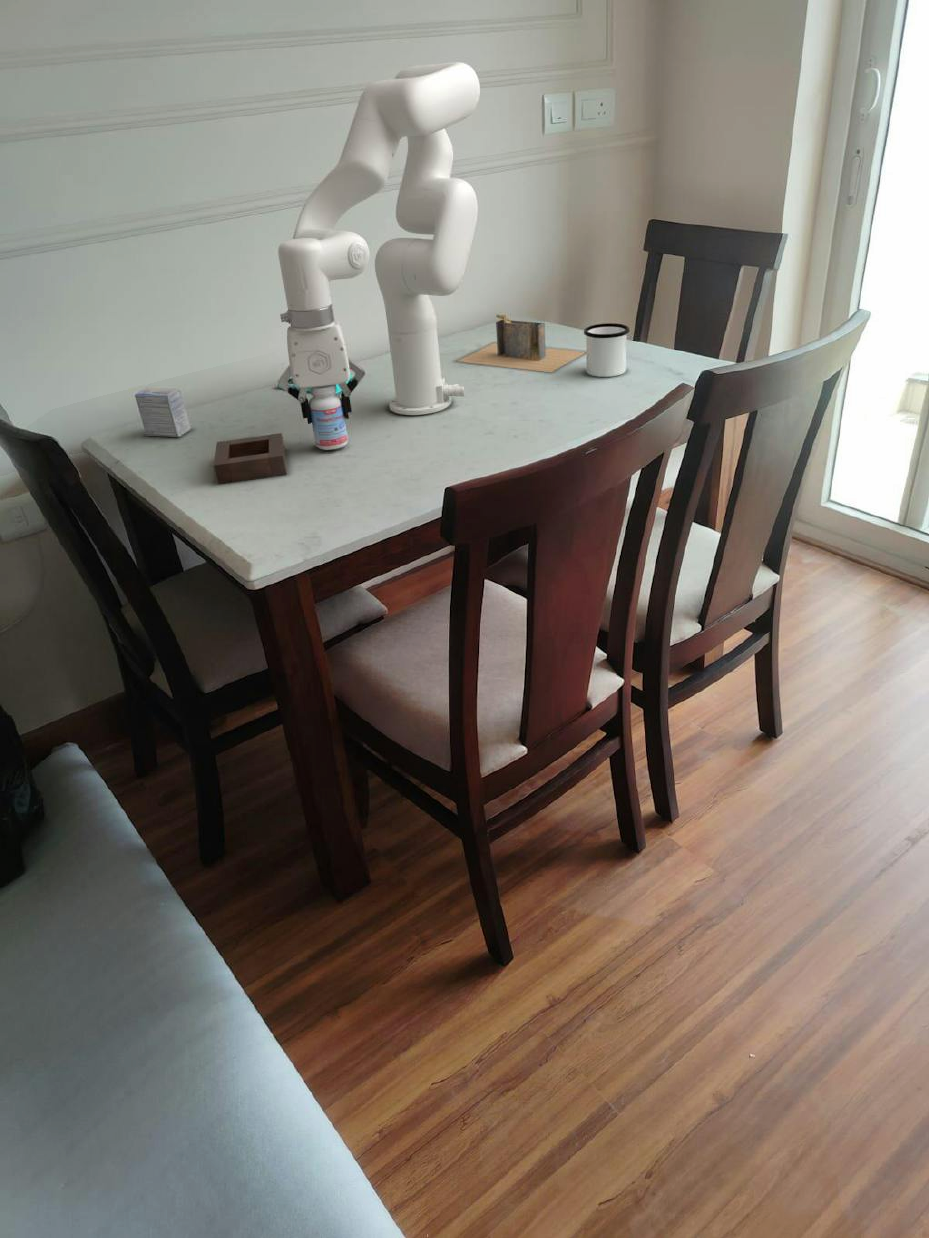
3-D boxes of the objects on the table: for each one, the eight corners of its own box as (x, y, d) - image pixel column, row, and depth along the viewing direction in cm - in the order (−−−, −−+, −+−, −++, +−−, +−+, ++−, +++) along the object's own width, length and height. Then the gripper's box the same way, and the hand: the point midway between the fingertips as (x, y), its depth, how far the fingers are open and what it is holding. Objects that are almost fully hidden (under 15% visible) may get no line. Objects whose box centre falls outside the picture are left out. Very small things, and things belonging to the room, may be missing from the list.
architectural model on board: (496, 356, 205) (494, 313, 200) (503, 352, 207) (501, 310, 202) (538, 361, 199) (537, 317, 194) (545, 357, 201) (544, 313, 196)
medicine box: (191, 430, 177) (181, 387, 173) (178, 438, 174) (167, 395, 169) (158, 428, 180) (147, 386, 175) (145, 436, 176) (133, 394, 172)
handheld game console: (333, 395, 190) (332, 388, 189) (276, 388, 197) (275, 382, 196) (360, 381, 197) (360, 375, 196) (304, 375, 204) (303, 369, 204)
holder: (285, 450, 163) (281, 432, 161) (286, 474, 153) (282, 455, 152) (220, 460, 162) (216, 441, 160) (218, 484, 152) (213, 465, 150)
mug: (616, 380, 183) (617, 336, 178) (576, 376, 188) (575, 332, 183) (640, 364, 191) (642, 321, 187) (601, 360, 196) (601, 318, 191)
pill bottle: (322, 453, 159) (311, 392, 153) (311, 443, 164) (300, 384, 158) (353, 445, 161) (344, 385, 156) (341, 436, 166) (332, 377, 160)
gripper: (260, 328, 147) (280, 432, 156) (364, 316, 149) (377, 419, 158) (260, 318, 153) (280, 419, 162) (360, 306, 155) (373, 406, 164)
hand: (328, 418), depth 160 cm, fingers closed on pill bottle, 6 cm apart
